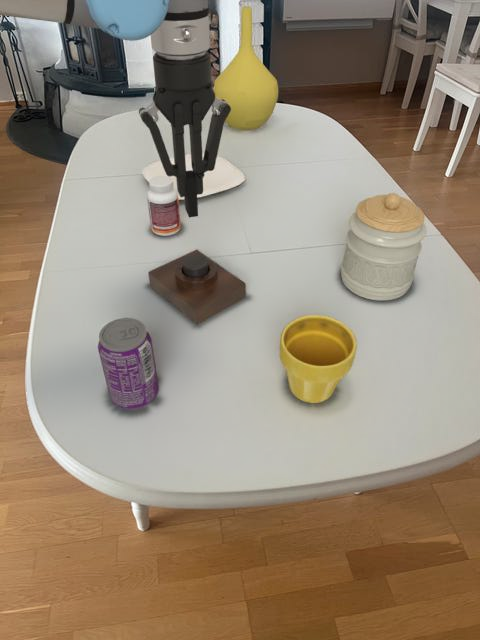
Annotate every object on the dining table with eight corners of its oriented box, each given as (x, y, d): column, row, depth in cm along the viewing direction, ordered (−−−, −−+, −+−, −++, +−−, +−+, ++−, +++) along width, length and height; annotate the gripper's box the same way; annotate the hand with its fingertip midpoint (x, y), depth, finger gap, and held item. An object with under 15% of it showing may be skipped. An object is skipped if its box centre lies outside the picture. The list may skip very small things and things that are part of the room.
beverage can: (152, 370, 79) (143, 310, 71) (164, 404, 74) (156, 344, 66) (106, 382, 77) (91, 322, 69) (115, 418, 73) (100, 358, 65)
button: (178, 270, 91) (177, 260, 89) (198, 261, 93) (197, 251, 92) (193, 282, 88) (192, 272, 87) (213, 272, 91) (213, 262, 89)
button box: (149, 286, 95) (146, 263, 92) (197, 262, 100) (196, 241, 97) (196, 324, 87) (195, 301, 84) (245, 297, 93) (246, 275, 89)
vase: (232, 141, 143) (232, 19, 123) (203, 119, 155) (198, 4, 135) (288, 129, 150) (296, 11, 130) (256, 108, 162) (259, -2, 142)
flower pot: (342, 421, 72) (352, 374, 66) (269, 405, 74) (272, 358, 68) (350, 368, 80) (360, 321, 73) (284, 355, 82) (289, 308, 75)
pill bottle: (186, 231, 109) (182, 182, 102) (160, 240, 106) (154, 191, 99) (171, 218, 113) (166, 170, 105) (146, 227, 110) (139, 179, 103)
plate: (255, 186, 124) (255, 180, 123) (173, 211, 115) (172, 204, 114) (210, 153, 137) (210, 147, 136) (134, 173, 129) (133, 166, 128)
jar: (389, 312, 90) (411, 223, 78) (326, 282, 96) (338, 196, 84) (423, 278, 97) (448, 192, 85) (362, 252, 103) (378, 168, 92)
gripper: (135, 64, 63) (155, 231, 79) (238, 55, 66) (237, 218, 82) (126, 47, 68) (147, 207, 84) (222, 40, 71) (224, 196, 87)
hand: (191, 212), depth 83 cm, fingers closed
